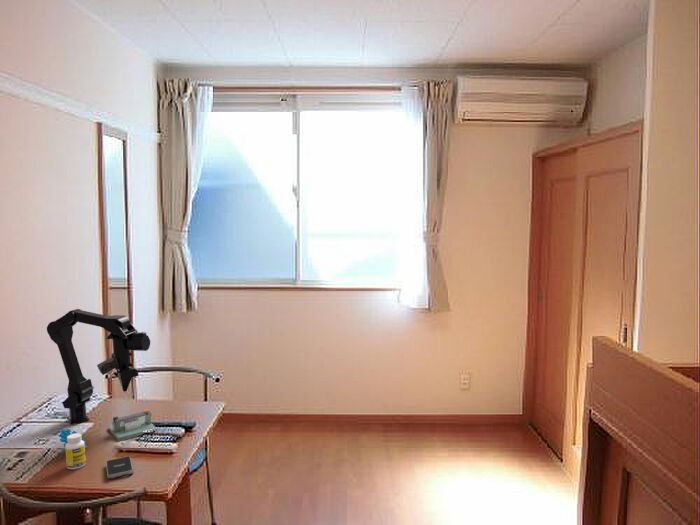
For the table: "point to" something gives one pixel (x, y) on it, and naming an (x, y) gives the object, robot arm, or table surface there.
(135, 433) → the board
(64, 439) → the gear
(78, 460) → the supplement bottle
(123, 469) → the external hard drive
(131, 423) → the heatsink
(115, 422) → the post
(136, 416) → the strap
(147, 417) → the post
